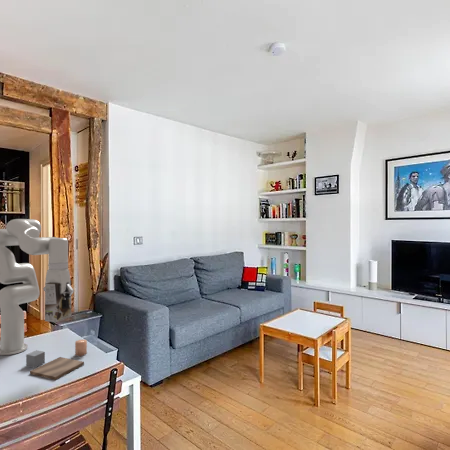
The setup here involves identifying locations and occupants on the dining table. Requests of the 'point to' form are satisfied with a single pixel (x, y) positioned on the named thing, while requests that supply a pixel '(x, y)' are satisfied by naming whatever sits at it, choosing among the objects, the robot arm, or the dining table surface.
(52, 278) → the robot arm
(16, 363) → the dining table surface
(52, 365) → the walnut board
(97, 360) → the dining table surface
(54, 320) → the coffee box
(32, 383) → the dining table surface
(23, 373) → the dining table surface
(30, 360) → the grey block
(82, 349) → the terracotta cylinder
